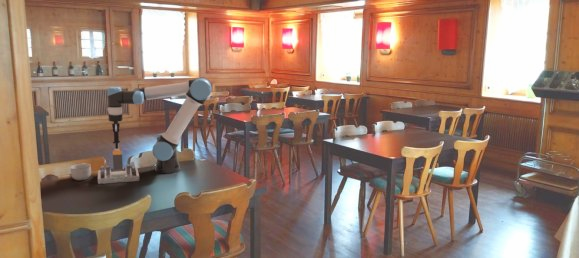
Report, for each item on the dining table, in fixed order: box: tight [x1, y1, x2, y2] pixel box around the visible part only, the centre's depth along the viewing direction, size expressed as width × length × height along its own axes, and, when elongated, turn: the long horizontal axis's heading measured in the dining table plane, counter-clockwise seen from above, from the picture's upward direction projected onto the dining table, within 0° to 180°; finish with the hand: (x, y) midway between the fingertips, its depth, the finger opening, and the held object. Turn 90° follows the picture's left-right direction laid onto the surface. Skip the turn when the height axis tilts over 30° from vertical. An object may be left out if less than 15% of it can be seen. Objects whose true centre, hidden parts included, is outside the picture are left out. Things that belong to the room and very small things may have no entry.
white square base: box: [100, 161, 136, 178], centre depth 272 cm, size 19×19×4 cm
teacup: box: [69, 162, 92, 181], centre depth 270 cm, size 14×11×8 cm
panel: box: [97, 163, 140, 185], centre depth 272 cm, size 22×18×7 cm
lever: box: [110, 150, 126, 172], centre depth 272 cm, size 8×2×12 cm, turn 112°
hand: (116, 153), depth 273 cm, fingers closed
